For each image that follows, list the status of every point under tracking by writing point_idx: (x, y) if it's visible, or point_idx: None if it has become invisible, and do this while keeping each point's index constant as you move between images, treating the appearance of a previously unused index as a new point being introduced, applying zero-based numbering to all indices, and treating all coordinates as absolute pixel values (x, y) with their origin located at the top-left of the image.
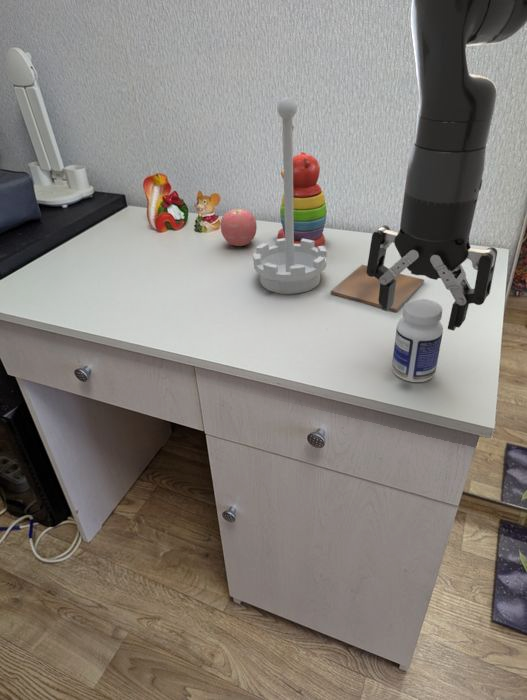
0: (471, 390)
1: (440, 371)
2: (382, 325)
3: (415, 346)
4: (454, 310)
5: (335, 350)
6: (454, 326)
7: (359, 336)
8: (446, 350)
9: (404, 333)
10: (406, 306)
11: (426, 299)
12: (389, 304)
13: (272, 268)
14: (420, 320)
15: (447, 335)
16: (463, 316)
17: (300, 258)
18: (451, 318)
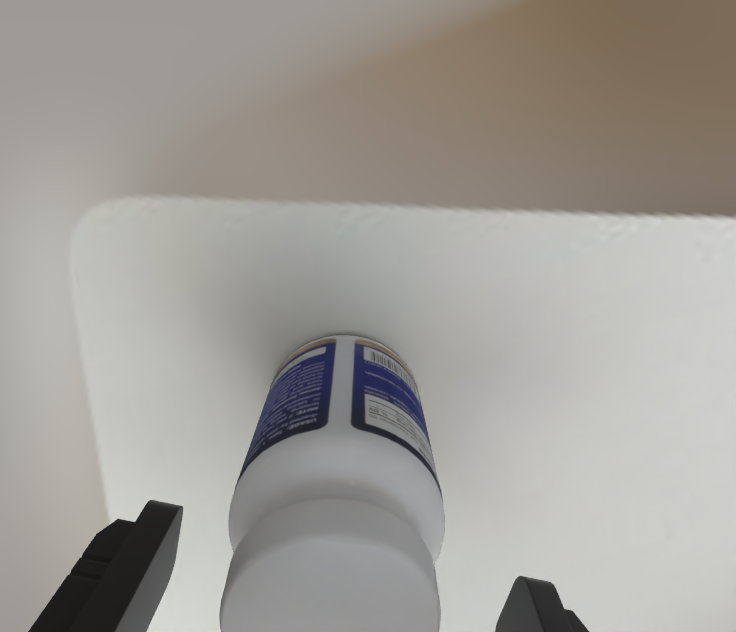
0: (145, 356)
1: (258, 421)
2: (480, 597)
3: (337, 409)
4: (105, 604)
5: (624, 430)
6: (141, 521)
7: (549, 524)
8: None
9: (399, 455)
10: (423, 614)
11: None
12: (517, 620)
13: None
14: (325, 517)
15: None
16: (67, 580)
17: None
18: (143, 555)
